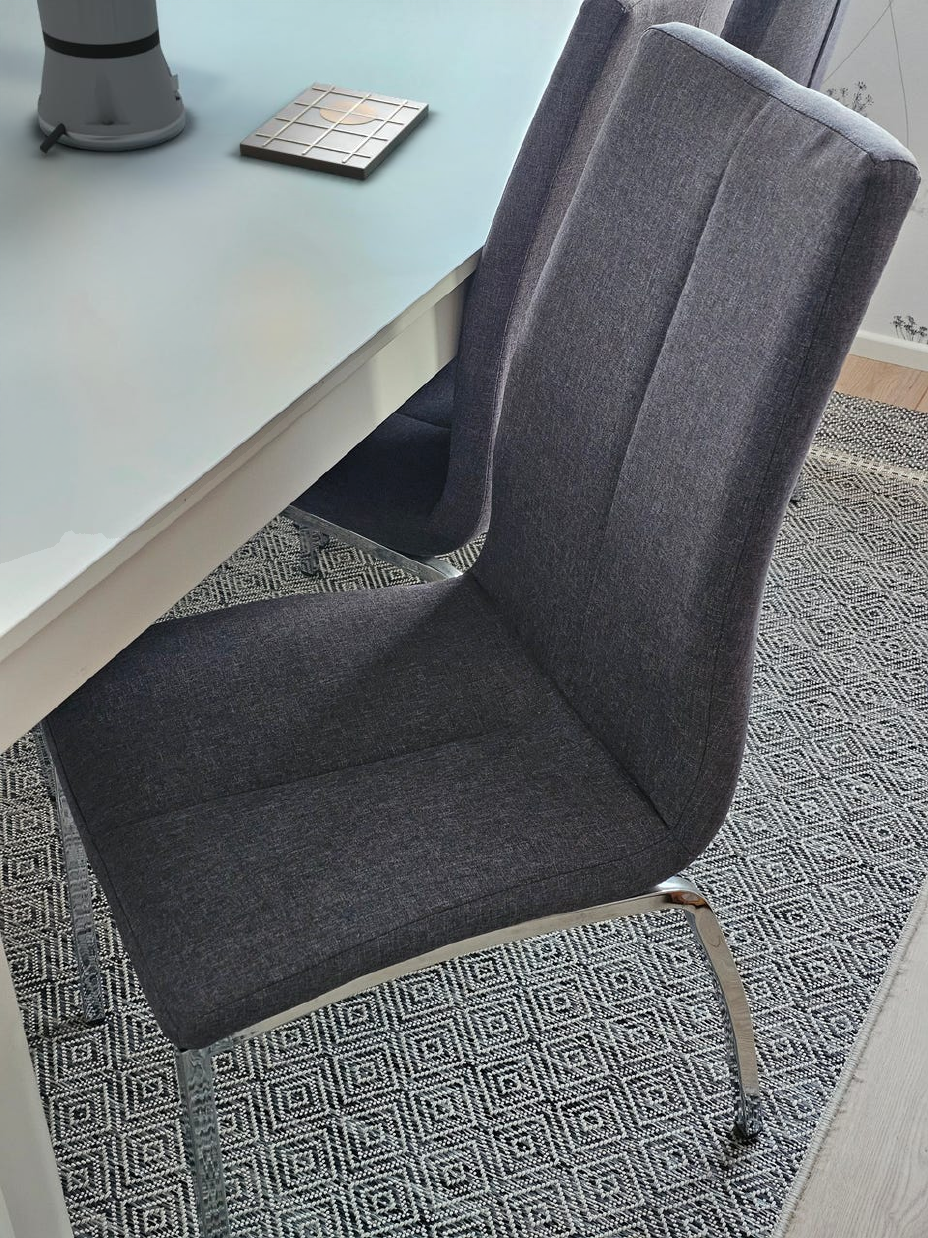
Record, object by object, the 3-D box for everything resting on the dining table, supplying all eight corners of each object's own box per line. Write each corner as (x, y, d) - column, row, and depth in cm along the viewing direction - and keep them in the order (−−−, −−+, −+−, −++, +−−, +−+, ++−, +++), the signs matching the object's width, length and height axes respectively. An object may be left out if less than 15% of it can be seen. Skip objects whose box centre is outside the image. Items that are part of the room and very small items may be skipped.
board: (364, 180, 123) (364, 167, 122) (240, 154, 126) (239, 142, 125) (428, 114, 137) (429, 102, 137) (315, 92, 140) (315, 80, 139)
